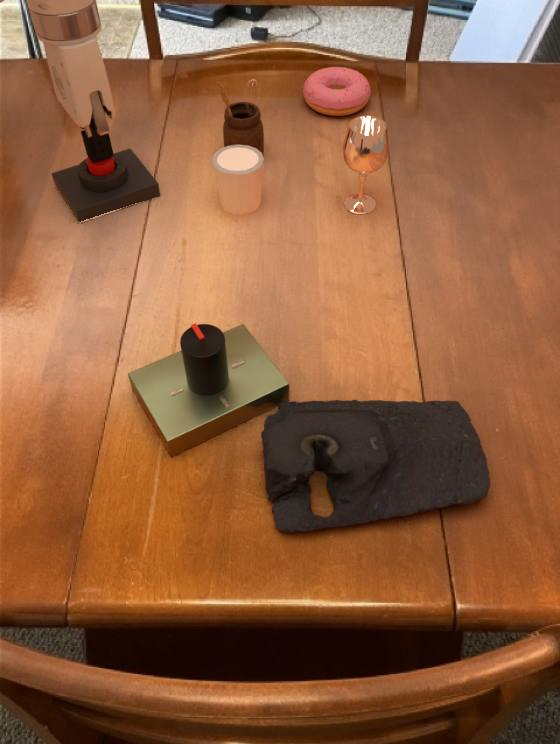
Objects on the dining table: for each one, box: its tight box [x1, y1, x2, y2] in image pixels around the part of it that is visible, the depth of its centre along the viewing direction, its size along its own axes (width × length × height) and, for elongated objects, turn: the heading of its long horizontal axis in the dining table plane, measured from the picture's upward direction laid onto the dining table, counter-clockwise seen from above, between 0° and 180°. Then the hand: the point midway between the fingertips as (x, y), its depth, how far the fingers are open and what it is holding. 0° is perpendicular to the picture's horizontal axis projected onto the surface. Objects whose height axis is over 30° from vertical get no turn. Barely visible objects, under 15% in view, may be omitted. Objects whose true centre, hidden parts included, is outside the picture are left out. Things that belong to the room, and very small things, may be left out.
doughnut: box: [301, 66, 372, 117], centre depth 110 cm, size 11×11×4 cm
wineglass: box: [342, 115, 389, 215], centre depth 90 cm, size 6×6×12 cm
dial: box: [179, 322, 229, 395], centre depth 69 cm, size 4×4×6 cm
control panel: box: [127, 323, 290, 458], centre depth 72 cm, size 14×10×3 cm
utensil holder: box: [216, 78, 265, 156], centre depth 98 cm, size 6×6×12 cm
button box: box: [51, 148, 161, 223], centre depth 95 cm, size 12×10×4 cm
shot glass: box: [211, 145, 265, 216], centre depth 92 cm, size 7×7×7 cm
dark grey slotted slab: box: [260, 399, 491, 534], centre depth 66 cm, size 15×22×5 cm
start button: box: [85, 156, 115, 176], centre depth 93 cm, size 4×4×2 cm
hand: (100, 156), depth 92 cm, fingers closed
